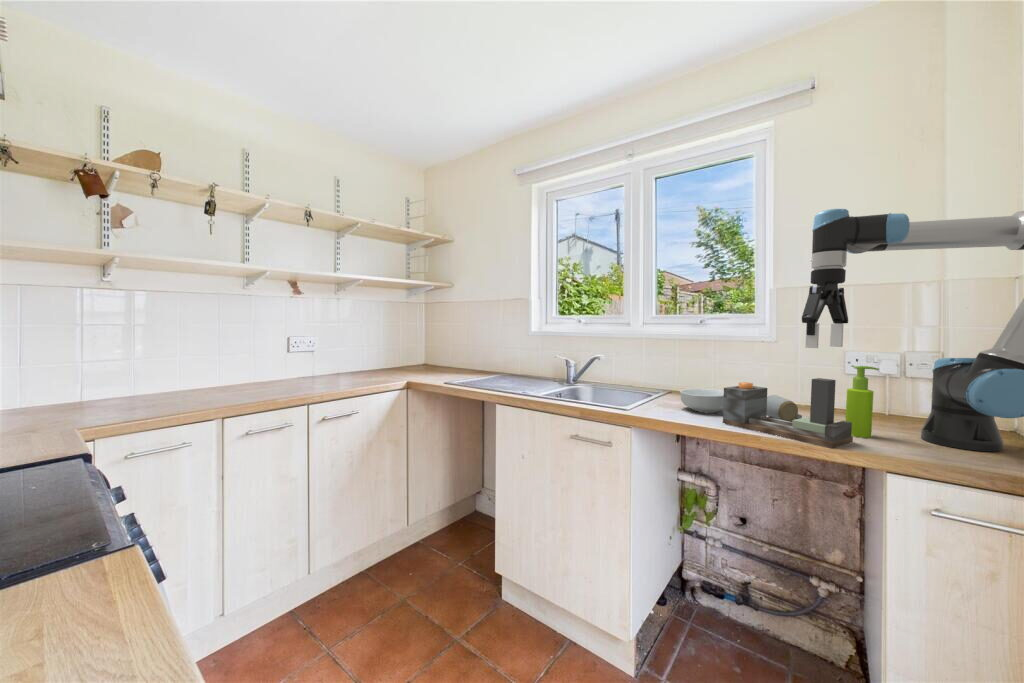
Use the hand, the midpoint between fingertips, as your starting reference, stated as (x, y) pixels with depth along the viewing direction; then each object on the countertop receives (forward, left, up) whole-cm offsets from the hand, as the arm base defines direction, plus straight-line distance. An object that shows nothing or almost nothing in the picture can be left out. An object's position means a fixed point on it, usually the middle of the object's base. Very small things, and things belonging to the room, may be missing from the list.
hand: (824, 347), depth 114 cm
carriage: (+1, 0, -23) cm, 23 cm away
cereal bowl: (+40, -6, -26) cm, 48 cm away
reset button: (+21, 0, -16) cm, 27 cm away
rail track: (+10, 0, -26) cm, 28 cm away
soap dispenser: (-3, -16, -26) cm, 31 cm away
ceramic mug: (+19, -18, -26) cm, 36 cm away
